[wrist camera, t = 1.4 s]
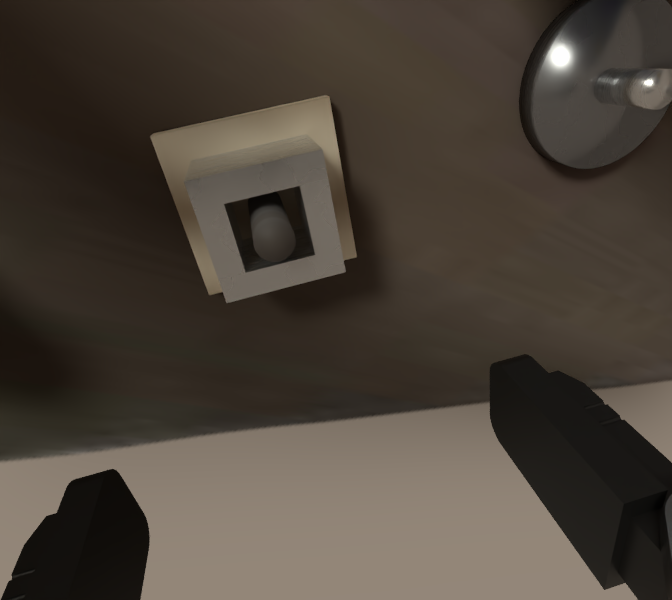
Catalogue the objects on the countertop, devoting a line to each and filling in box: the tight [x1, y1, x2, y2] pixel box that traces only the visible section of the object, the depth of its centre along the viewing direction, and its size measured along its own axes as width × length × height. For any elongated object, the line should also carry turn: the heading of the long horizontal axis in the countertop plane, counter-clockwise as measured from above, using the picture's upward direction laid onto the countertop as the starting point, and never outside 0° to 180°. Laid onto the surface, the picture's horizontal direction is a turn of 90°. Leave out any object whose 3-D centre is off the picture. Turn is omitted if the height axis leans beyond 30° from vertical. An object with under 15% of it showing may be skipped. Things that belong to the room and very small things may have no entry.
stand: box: [150, 95, 357, 295], centre depth 22 cm, size 9×9×7 cm
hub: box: [519, 0, 672, 169], centre depth 24 cm, size 9×9×5 cm
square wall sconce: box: [184, 134, 346, 303], centre depth 22 cm, size 6×6×4 cm
